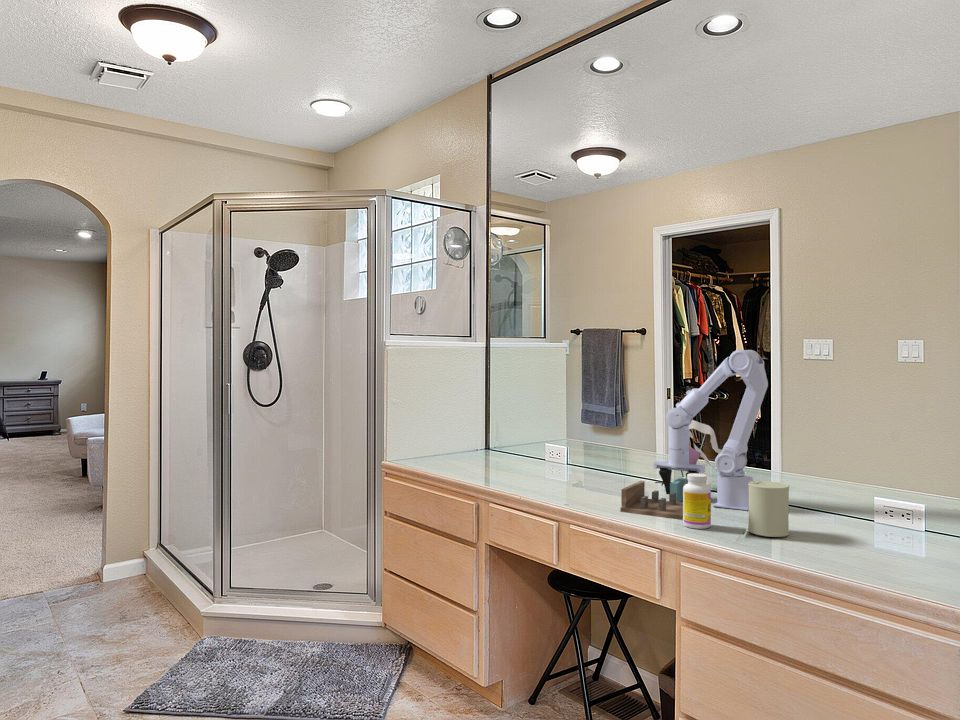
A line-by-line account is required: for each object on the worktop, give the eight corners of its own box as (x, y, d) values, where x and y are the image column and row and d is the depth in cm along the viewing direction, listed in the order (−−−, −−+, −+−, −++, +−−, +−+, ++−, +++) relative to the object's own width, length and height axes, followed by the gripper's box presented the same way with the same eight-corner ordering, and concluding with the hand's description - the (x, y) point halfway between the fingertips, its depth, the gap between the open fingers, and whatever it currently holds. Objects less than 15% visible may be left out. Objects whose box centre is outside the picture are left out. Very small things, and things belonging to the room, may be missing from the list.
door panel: (687, 498, 206) (687, 478, 205) (676, 504, 197) (676, 483, 197) (680, 497, 207) (680, 477, 207) (669, 503, 198) (670, 482, 198)
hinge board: (703, 508, 191) (703, 487, 191) (686, 520, 178) (686, 496, 178) (640, 501, 201) (640, 480, 201) (620, 511, 187) (620, 489, 187)
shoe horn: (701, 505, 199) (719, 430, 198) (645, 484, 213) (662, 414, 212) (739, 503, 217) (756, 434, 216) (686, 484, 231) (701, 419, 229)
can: (754, 525, 172) (755, 477, 172) (793, 531, 167) (794, 482, 167) (742, 532, 165) (742, 482, 165) (782, 539, 159) (783, 487, 159)
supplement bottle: (712, 530, 167) (712, 477, 167) (684, 528, 169) (684, 476, 169) (708, 523, 174) (709, 473, 174) (681, 522, 175) (681, 472, 175)
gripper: (707, 449, 201) (707, 495, 201) (659, 445, 209) (658, 490, 209) (701, 451, 195) (700, 499, 195) (651, 448, 203) (651, 494, 203)
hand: (678, 495), depth 202 cm, fingers open, 5 cm apart
